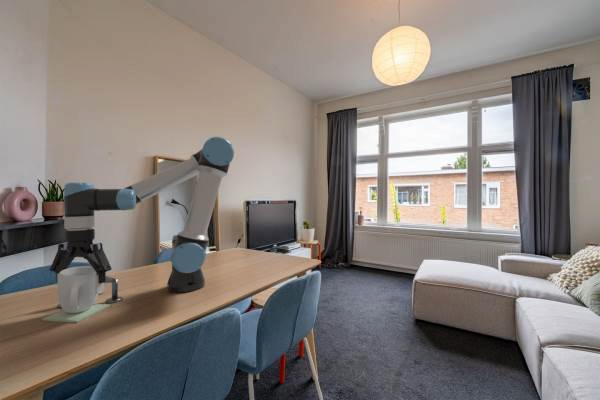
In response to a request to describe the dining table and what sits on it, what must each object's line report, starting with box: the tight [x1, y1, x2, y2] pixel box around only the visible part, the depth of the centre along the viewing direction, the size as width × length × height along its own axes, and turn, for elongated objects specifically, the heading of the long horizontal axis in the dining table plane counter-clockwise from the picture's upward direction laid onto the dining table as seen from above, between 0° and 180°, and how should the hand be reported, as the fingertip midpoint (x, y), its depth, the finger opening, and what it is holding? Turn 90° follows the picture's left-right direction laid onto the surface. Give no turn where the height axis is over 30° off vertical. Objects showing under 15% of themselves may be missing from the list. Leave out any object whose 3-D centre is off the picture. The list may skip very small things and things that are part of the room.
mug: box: [57, 265, 101, 313], centre depth 83 cm, size 15×11×13 cm
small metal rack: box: [57, 275, 124, 309], centre depth 94 cm, size 18×16×9 cm
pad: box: [42, 303, 112, 324], centre depth 83 cm, size 12×12×1 cm
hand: (81, 292), depth 84 cm, fingers open, 13 cm apart
